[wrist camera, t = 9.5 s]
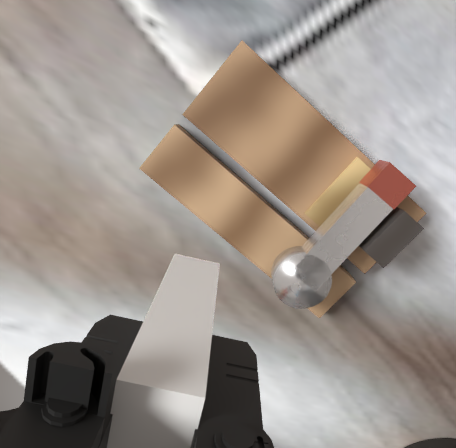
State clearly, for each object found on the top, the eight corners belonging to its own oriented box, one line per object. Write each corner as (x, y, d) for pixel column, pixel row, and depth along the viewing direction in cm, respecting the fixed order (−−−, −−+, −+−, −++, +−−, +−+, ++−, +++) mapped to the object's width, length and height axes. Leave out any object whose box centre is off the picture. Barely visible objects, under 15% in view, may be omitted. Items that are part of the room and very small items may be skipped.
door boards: (413, 206, 35) (452, 225, 29) (314, 305, 37) (330, 342, 31) (241, 46, 32) (243, 27, 26) (145, 165, 34) (126, 174, 28)
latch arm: (300, 307, 33) (305, 319, 31) (259, 275, 32) (261, 285, 30) (412, 189, 30) (425, 194, 28) (370, 152, 30) (380, 154, 28)
